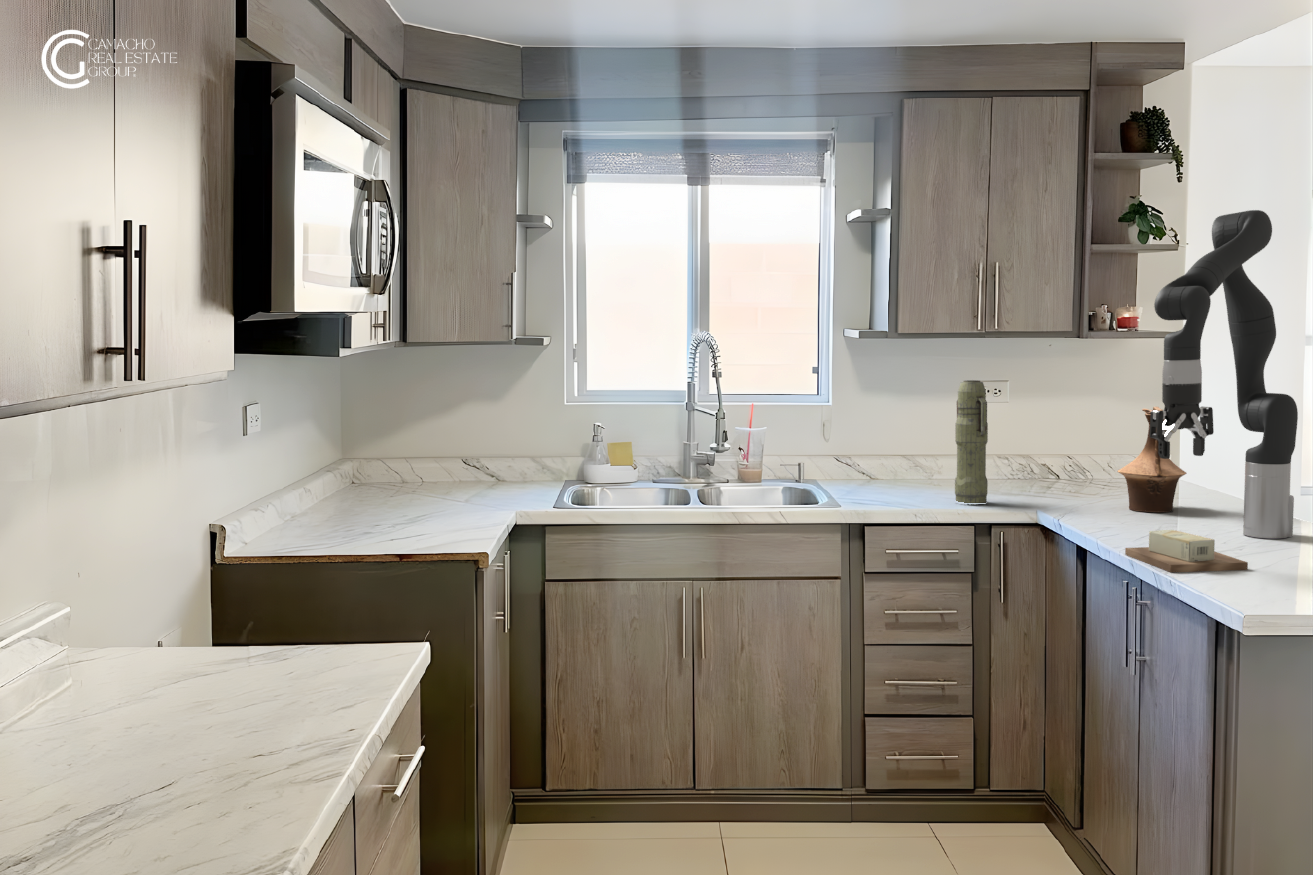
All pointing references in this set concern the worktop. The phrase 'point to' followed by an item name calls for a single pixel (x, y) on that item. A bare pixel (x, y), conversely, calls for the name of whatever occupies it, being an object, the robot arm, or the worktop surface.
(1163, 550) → the skincare box
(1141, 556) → the walnut board
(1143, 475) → the pitcher
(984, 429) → the thermos
